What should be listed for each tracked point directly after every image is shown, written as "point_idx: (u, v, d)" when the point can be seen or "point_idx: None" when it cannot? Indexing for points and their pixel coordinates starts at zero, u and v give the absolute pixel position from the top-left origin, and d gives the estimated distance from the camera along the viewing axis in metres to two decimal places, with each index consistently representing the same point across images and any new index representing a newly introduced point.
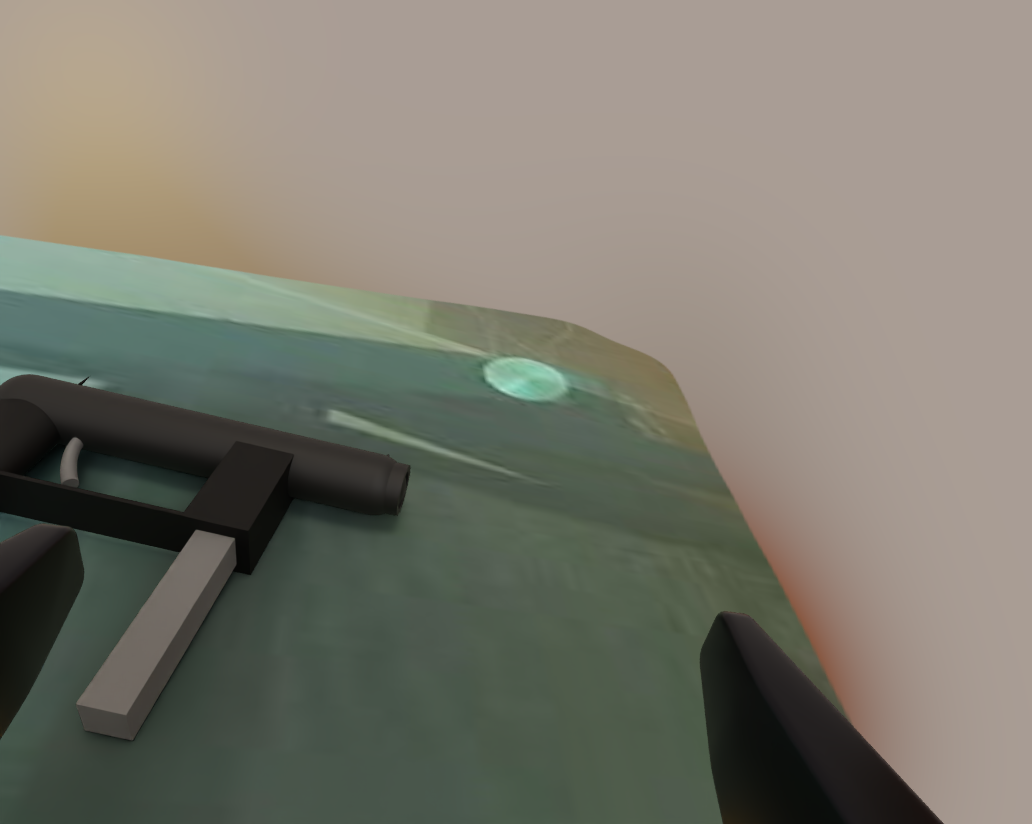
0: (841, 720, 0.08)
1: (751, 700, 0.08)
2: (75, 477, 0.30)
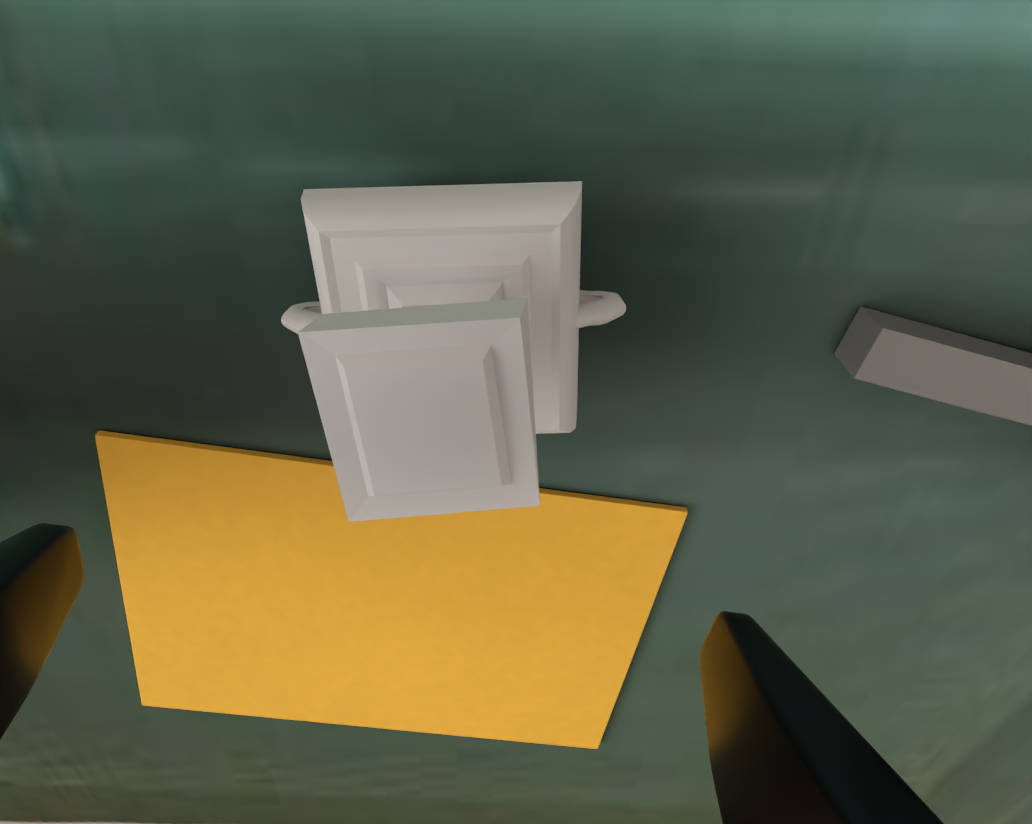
0: (840, 720, 0.08)
1: (751, 700, 0.08)
2: None
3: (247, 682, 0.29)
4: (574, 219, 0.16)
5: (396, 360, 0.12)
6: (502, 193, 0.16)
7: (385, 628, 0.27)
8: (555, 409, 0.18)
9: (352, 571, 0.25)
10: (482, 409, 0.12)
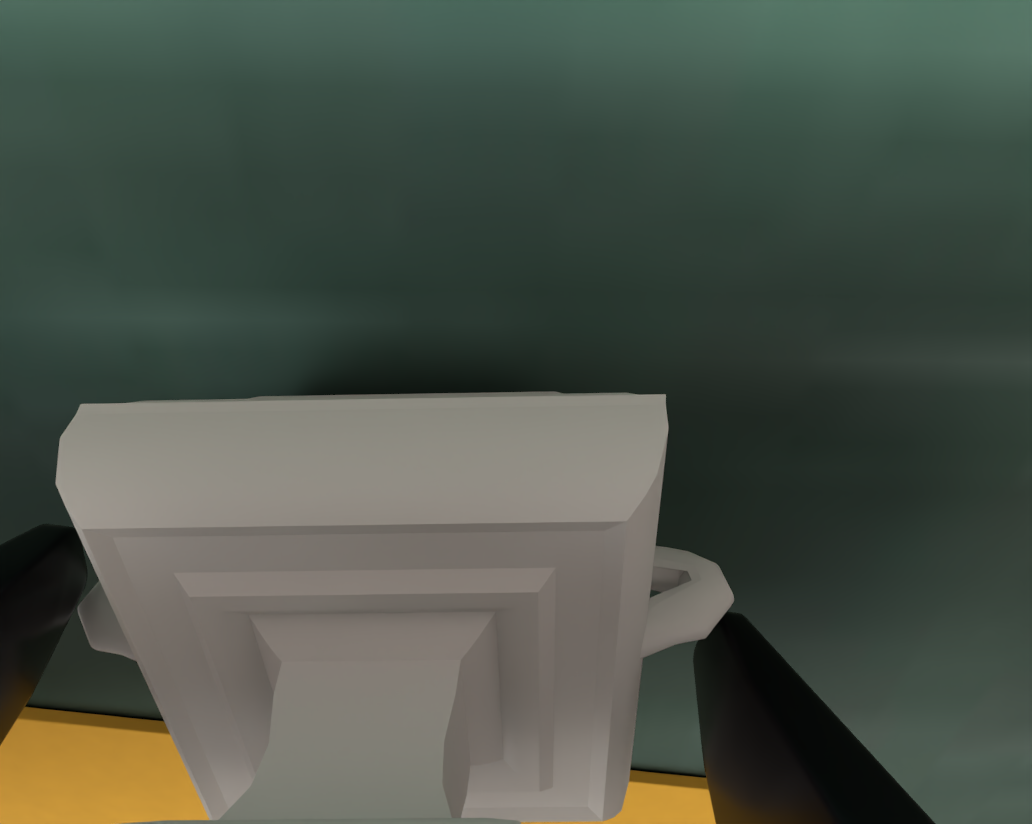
0: (833, 719, 0.08)
1: (743, 699, 0.08)
2: None
3: None
4: (655, 496, 0.07)
5: None
6: (496, 433, 0.07)
7: None
8: (597, 794, 0.09)
9: None
10: None
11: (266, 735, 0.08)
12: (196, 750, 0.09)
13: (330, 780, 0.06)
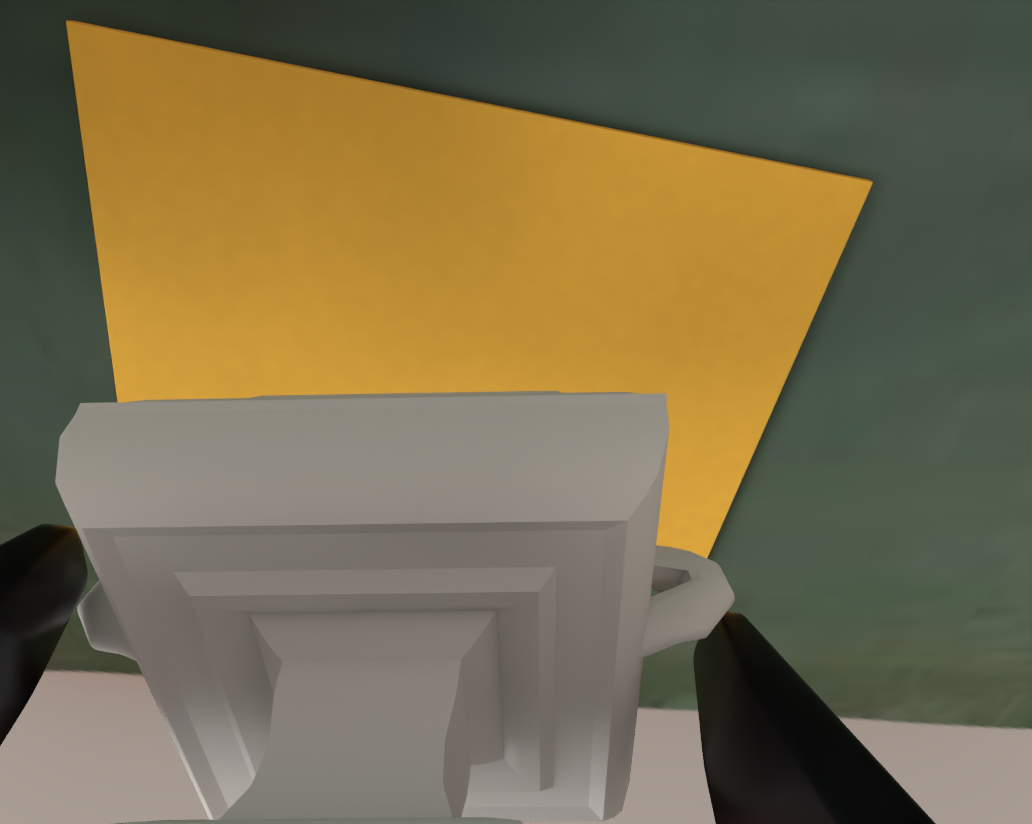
0: (833, 719, 0.08)
1: (743, 699, 0.08)
2: None
3: None
4: (656, 495, 0.07)
5: None
6: (496, 432, 0.07)
7: (447, 374, 0.21)
8: (598, 793, 0.09)
9: (409, 275, 0.19)
10: None
11: (265, 735, 0.08)
12: (196, 750, 0.09)
13: (331, 780, 0.06)
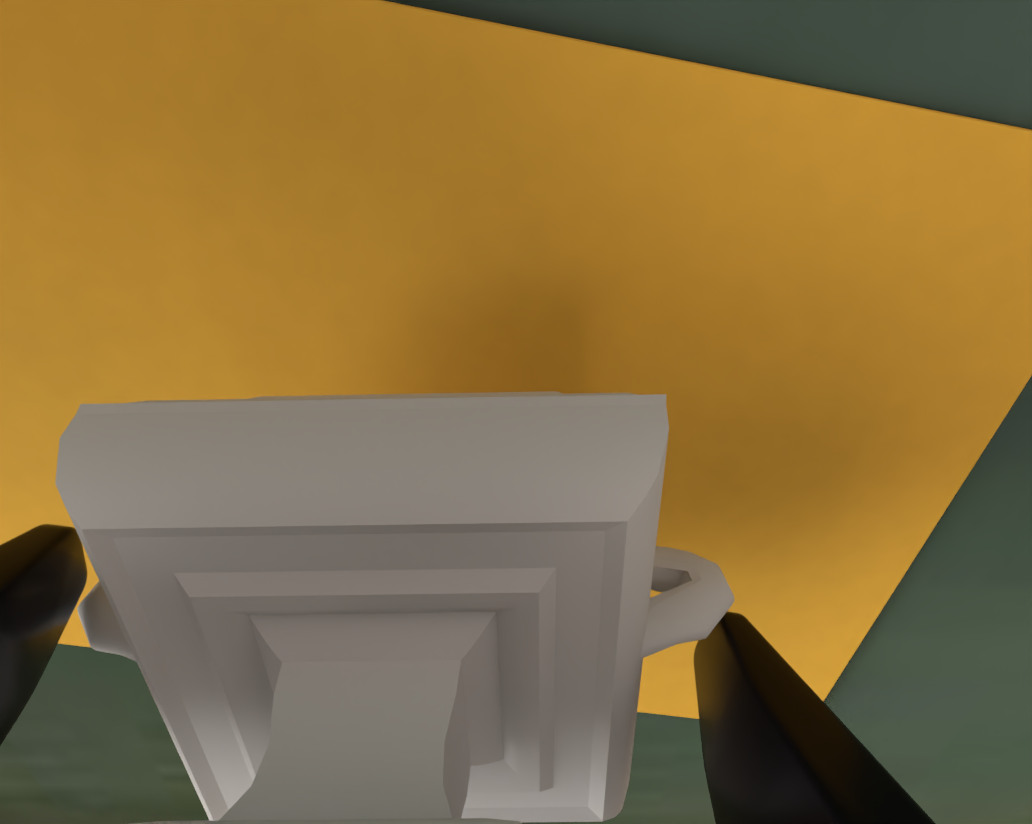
0: (833, 718, 0.08)
1: (744, 699, 0.08)
2: None
3: None
4: (656, 496, 0.07)
5: None
6: (496, 433, 0.07)
7: None
8: (598, 795, 0.09)
9: (368, 322, 0.12)
10: None
11: (266, 735, 0.08)
12: (196, 750, 0.09)
13: (330, 780, 0.06)
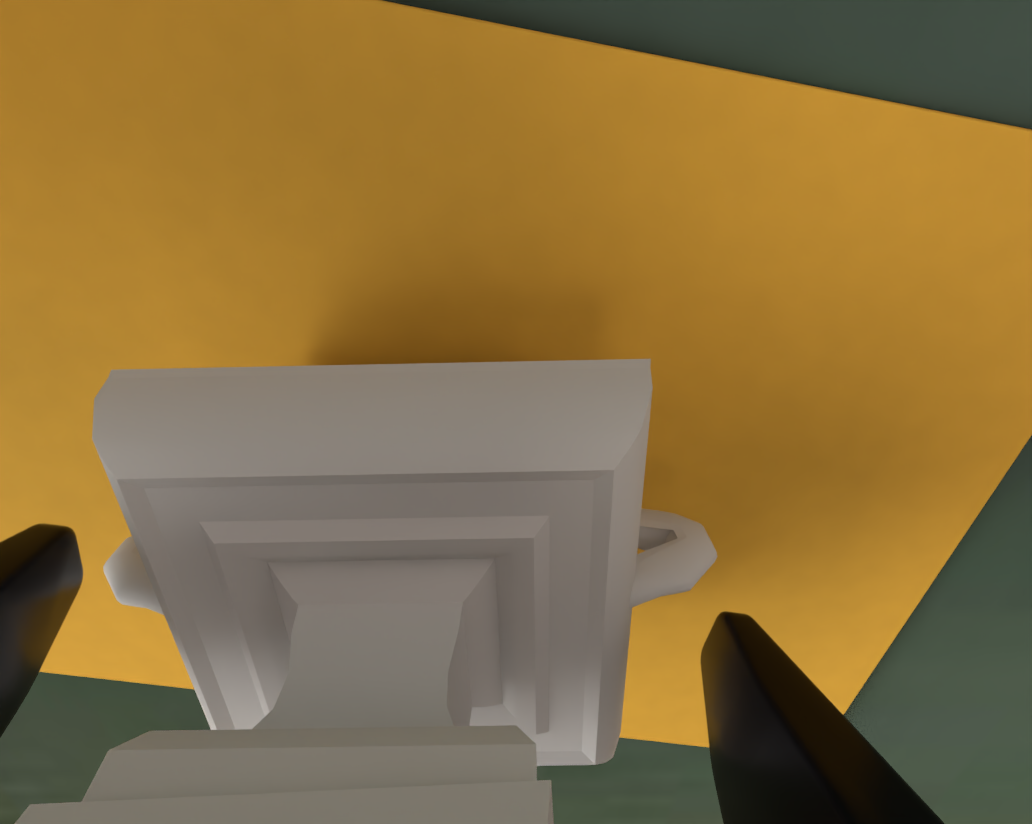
0: (842, 720, 0.08)
1: (752, 700, 0.08)
2: None
3: (142, 615, 0.14)
4: (640, 449, 0.08)
5: None
6: (495, 392, 0.08)
7: None
8: (590, 738, 0.10)
9: (355, 340, 0.11)
10: None
11: (281, 680, 0.09)
12: (216, 695, 0.09)
13: (345, 703, 0.07)
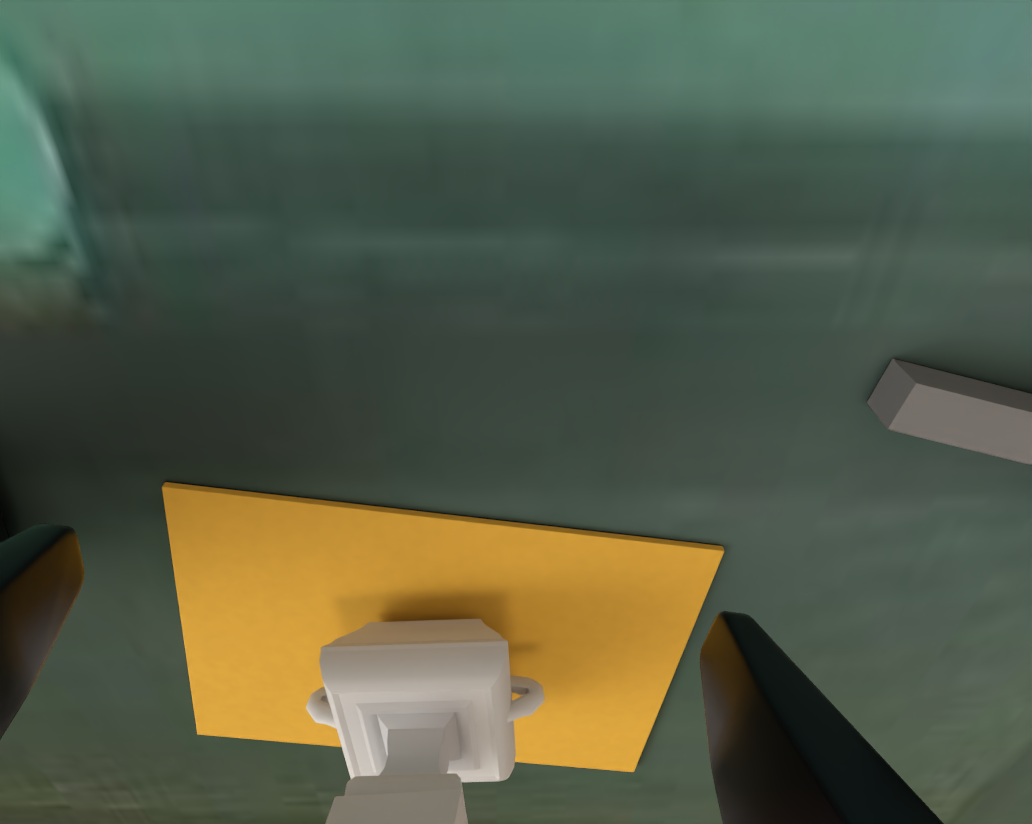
0: (841, 720, 0.08)
1: (751, 700, 0.08)
2: None
3: (298, 712, 0.30)
4: (501, 678, 0.23)
5: None
6: (452, 658, 0.24)
7: None
8: (496, 770, 0.26)
9: (401, 608, 0.27)
10: None
11: (379, 752, 0.25)
12: (354, 757, 0.25)
13: (407, 765, 0.23)
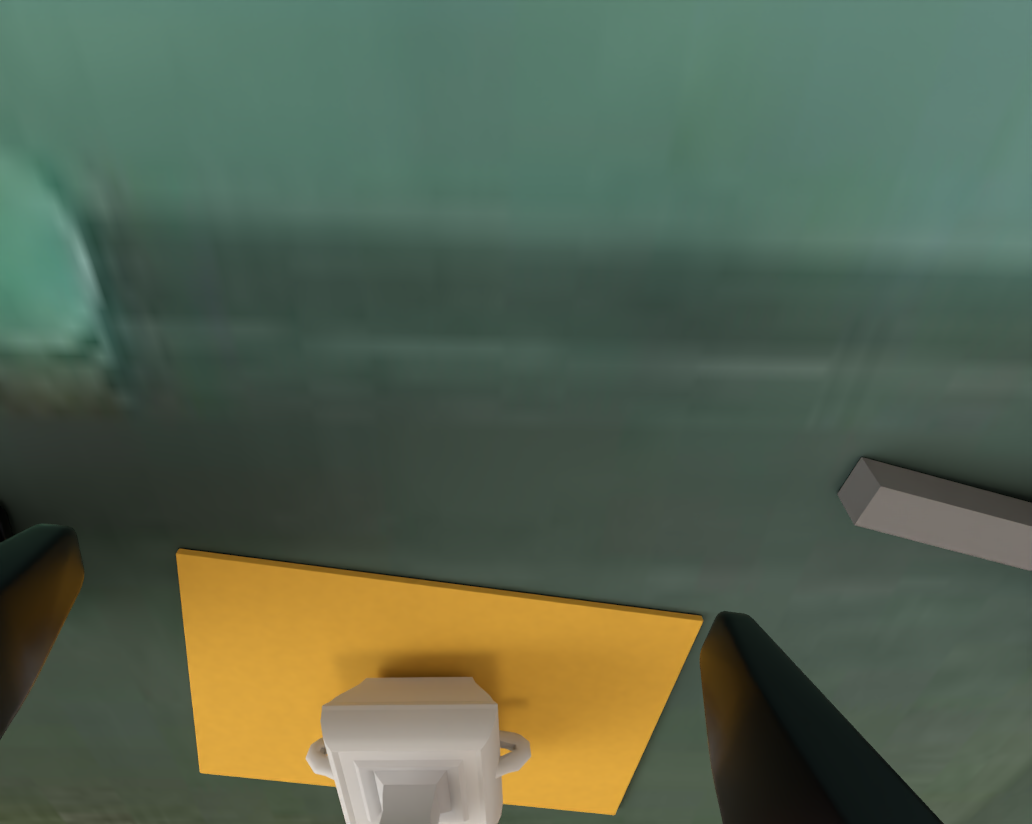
0: (840, 720, 0.08)
1: (751, 700, 0.08)
2: None
3: (297, 755, 0.31)
4: (490, 740, 0.25)
5: None
6: (446, 720, 0.25)
7: None
8: (484, 822, 0.27)
9: (397, 665, 0.28)
10: None
11: (374, 803, 0.26)
12: (350, 807, 0.27)
13: (400, 821, 0.24)
